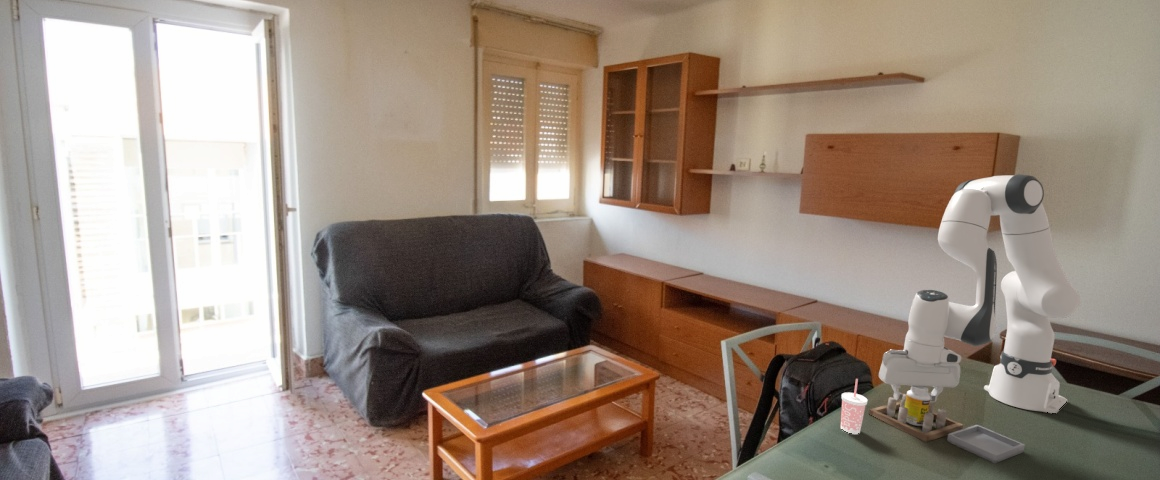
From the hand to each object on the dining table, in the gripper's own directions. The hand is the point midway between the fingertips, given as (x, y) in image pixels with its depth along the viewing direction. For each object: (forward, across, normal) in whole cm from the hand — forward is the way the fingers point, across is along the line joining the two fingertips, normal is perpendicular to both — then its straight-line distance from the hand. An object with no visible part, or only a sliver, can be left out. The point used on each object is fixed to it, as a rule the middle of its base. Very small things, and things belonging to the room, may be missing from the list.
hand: (914, 399), depth 152 cm
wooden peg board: (+6, +1, 0) cm, 6 cm away
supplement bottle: (+6, +1, 0) cm, 6 cm away
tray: (+6, +11, -13) cm, 18 cm away
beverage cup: (+7, -20, -6) cm, 22 cm away
